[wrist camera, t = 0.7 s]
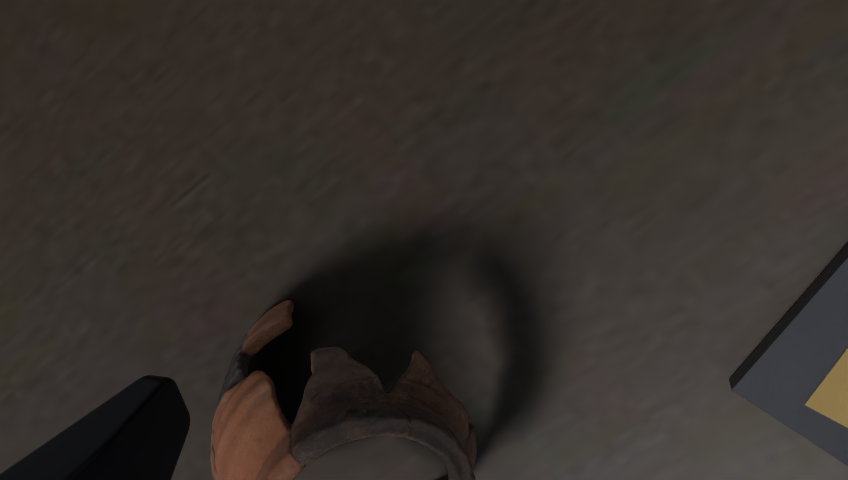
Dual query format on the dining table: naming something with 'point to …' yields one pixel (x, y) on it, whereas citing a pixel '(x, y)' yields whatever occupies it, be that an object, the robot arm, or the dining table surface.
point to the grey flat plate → (806, 364)
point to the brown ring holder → (329, 412)
